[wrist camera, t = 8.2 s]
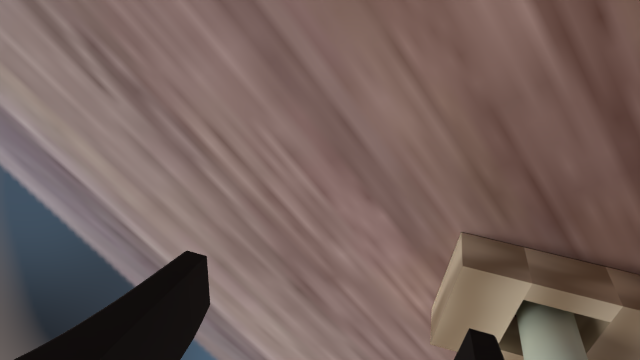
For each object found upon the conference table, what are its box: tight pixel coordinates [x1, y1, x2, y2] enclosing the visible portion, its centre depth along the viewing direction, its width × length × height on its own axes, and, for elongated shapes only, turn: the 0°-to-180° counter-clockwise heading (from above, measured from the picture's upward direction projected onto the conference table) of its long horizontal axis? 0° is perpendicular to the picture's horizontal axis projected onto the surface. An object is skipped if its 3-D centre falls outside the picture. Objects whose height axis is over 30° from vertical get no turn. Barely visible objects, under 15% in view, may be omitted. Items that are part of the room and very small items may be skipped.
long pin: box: [516, 300, 588, 360], centre depth 19 cm, size 3×3×8 cm
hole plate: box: [430, 232, 640, 360], centre depth 21 cm, size 10×6×2 cm, turn 84°
